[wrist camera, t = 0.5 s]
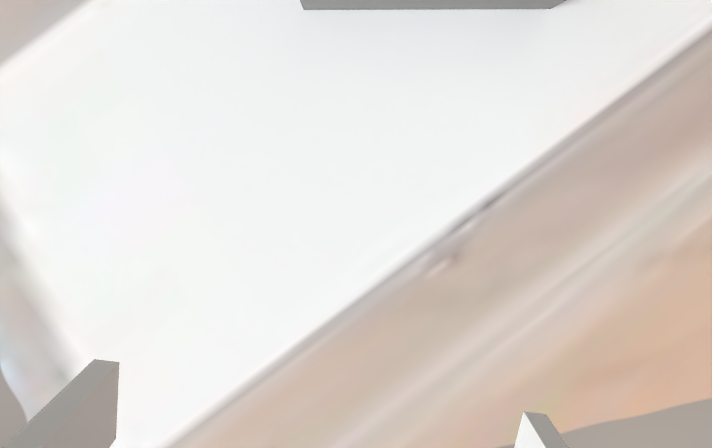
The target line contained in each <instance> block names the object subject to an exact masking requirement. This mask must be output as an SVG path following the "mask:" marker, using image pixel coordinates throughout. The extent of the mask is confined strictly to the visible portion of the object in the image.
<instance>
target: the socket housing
mask: <svg viewBox="0 0 712 448" xmlns="http://www.w3.org/2000/svg"><path fill="white" fill-rule="evenodd" d="M300 1H301V4H302V7H303V9H304V10H378V9H551V8H553V7H555V6H556V5H558V4H560V3H562V2H564V1H565V0H300Z"/></svg>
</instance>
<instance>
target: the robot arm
mask: <svg viewBox="0 0 712 448" xmlns="http://www.w3.org/2000/svg"><path fill="white" fill-rule="evenodd" d="M118 378H119V362H112V361H104V360H96V359H94V360H93V361H92V362H91V363H90V364H89V365H88V366H87V367H86V368H85V369H84V370H83V371H82V372H81V373H79V374H78V375H77V376H76V377H75V378H74V379H73V380H72V381H71V382H70V383H69V384H68V385H67V386H66V387H65V388H64V389H63V390H62V391H61V392H60V393H59V394H57V395H56V396H55V397H54V398H53V399H52V400H51V401H50V402H49V403H48V404H47V405H46V406H45V407H44V408H43V409H42V410H41V411H40V412H39V413H38V414H37V415H36V416H34V417H33V418H32V419H31V420H30V421H29V422H28V423H27V424H26V425H25V426H24V427H23V428H22V429H21V430H20V431H19V432H18V433H17V434H16V435H15V436H14V437H12V438H11V439H10V440H9V441H8V443H6V444H5V445H4V446H3V447H2V448H109V447H110V446H111V444H112V443H113V442H114V440H115V439H116V422H117V400H118ZM514 448H569V447H568V446H567V444H566V443H565V441H564V440H563V438H562V437H561V435H560V434H559V432H558V431H557V430H556V428H555V427H554V425H553V424H552V422H551V421H550V419H549V418H548V416H547V415H546V414H539V413H531V412H523V416H522V420H521V424H520V428H519V432H518V436H517V439H516V443H515V447H514Z"/></svg>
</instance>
